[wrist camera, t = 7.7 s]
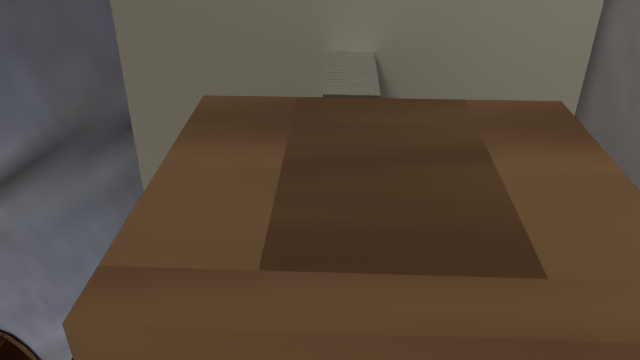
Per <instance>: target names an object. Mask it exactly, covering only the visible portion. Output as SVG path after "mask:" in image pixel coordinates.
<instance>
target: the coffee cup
mask: <svg viewBox="0 0 640 360" xmlns="http://www.w3.org/2000/svg"><path fill="white" fill-rule="evenodd" d="M0 360H37V359H36V358H35V356H34V355H33V354H32V353H31V352H30V351H29V350H28V349H27V348H26V347H25V346H23V345H22V344H21V343H19V342H18V341H16V340H15V339H14V338H12V337H11V336H9V335H7V334H5V333H3V332H0Z"/></svg>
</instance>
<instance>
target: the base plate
mask: <svg viewBox="0 0 640 360" xmlns="http://www.w3.org/2000/svg"><path fill="white" fill-rule="evenodd" d="M603 3H604V0H110V5H111V11H112V16H113V22H114V28H115V33H116V39H117V45H118V50H119V56H120V62H121V68H122V73H123V79H124V85H125V90H126V96H127V102H128V107H129V113H130V119H131V125H132V130H133V136H134V142H135V147H136V153H137V159H138V164H139V170H140V176H141V182H142V187H143V192H144V191H145V189H146V188H147V186H148V184H149V183H150V181H151V179H152V178H153V176H154V175H155V173H156V171H157V170H158V168H159V166H160V165H161V163H162V162H163V160H164V158H165V157H166V155H167V154H168V152H169V150H170V149H171V147H172V145H173V144H174V142H175V141H176V139H177V137H178V136H179V134H180V132H181V131H182V129H183V128H184V126H185V124H186V123H187V121H188V120H189V118H190V116H191V115H192V113H193V111H194V110H195V108H196V107H197V105H198V103H199V102H200V100H201V98H202V97H203V95H220V96H280V97H323V87H324V77H325V68H326V58H327V51H348V52H374V53H375V60H376V67H377V74H378V81H379V88H380V95H381V96H380V98H401V99H461V100H521V101H562V102H563V103H564V105H565V106H566V107H567V108H568V109H569V110H570V111H571V113H572V114H573V115H574V116H575V113H576V109H577V105H578V101H579V97H580V93H581V89H582V85H583V81H584V78H585V74H586V70H587V66H588V62H589V58H590V54H591V50H592V46H593V42H594V38H595V34H596V30H597V27H598V23H599V19H600V15H601V11H602V7H603Z"/></svg>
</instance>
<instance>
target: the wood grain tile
mask: <svg viewBox="0 0 640 360" xmlns="http://www.w3.org/2000/svg"><path fill="white" fill-rule="evenodd" d="M380 96H381V95H380V88H379V81H378V74H377V67H376V60H375V53H374V52H348V51H327V58H326V68H325V77H324V87H323V97H341V98H380Z"/></svg>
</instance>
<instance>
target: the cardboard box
mask: <svg viewBox="0 0 640 360" xmlns="http://www.w3.org/2000/svg"><path fill="white" fill-rule="evenodd" d="M62 324H63V328H64V331H65V334H66V337H67V340H68V344H69V347H70V350H71V353H72V356H73V360H640V191H639V190H638V189H637V188H636V187H635V185H634V184H633V183H632V182H631V181H630V180H629V178H628V177H627V176H626V175H625V174H624V173H623V172H622V170H621V169H620V168H619V167H618V166H617V165H616V163H615V162H614V161H613V160H612V159H611V158H610V157H609V155H608V154H607V153H606V152H605V151H604V150H603V148H602V147H601V146H600V145H599V144H598V143H597V142H596V140H595V139H594V138H593V137H592V136H591V135H590V133H589V132H588V131H587V130H586V129H585V128H584V126H583V125H582V124H581V123H580V122H579V121H578V120H577V118H576V117H575V116H574V115H573V114H572V113H571V111H570V110H569V109H568V108H567V107H566V106H565V105H564V103H563V102H562V101H521V100H461V99H401V98H341V97H280V96H220V95H203V97H202V98H201V100H200V102H199V103H198V105H197V107H196V108H195V110H194V111H193V113H192V115H191V116H190V118H189V120H188V121H187V123H186V124H185V126H184V128H183V129H182V131H181V132H180V134H179V136H178V137H177V139H176V141H175V142H174V144H173V145H172V147H171V149H170V150H169V152H168V154H167V155H166V157H165V158H164V160H163V162H162V163H161V165H160V166H159V168H158V170H157V171H156V173H155V175H154V176H153V178H152V179H151V181H150V183H149V184H148V186H147V188H146V189H145V191H144V192H143V194H142V196H141V197H140V199H139V200H138V202H137V204H136V205H135V207H134V209H133V210H132V212H131V213H130V215H129V217H128V218H127V220H126V221H125V223H124V225H123V226H122V228H121V230H120V231H119V233H118V234H117V236H116V238H115V239H114V241H113V243H112V244H111V246H110V247H109V249H108V251H107V252H106V254H105V255H104V257H103V259H102V260H101V262H100V264H99V265H98V267H97V268H96V270H95V272H94V273H93V275H92V277H91V278H90V280H89V281H88V283H87V285H86V286H85V288H84V289H83V291H82V293H81V294H80V296H79V298H78V299H77V301H76V302H75V304H74V306H73V307H72V309H71V311H70V312H69V314H68V315H67V317H66V319H65V320H64V322H63V323H62Z"/></svg>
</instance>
